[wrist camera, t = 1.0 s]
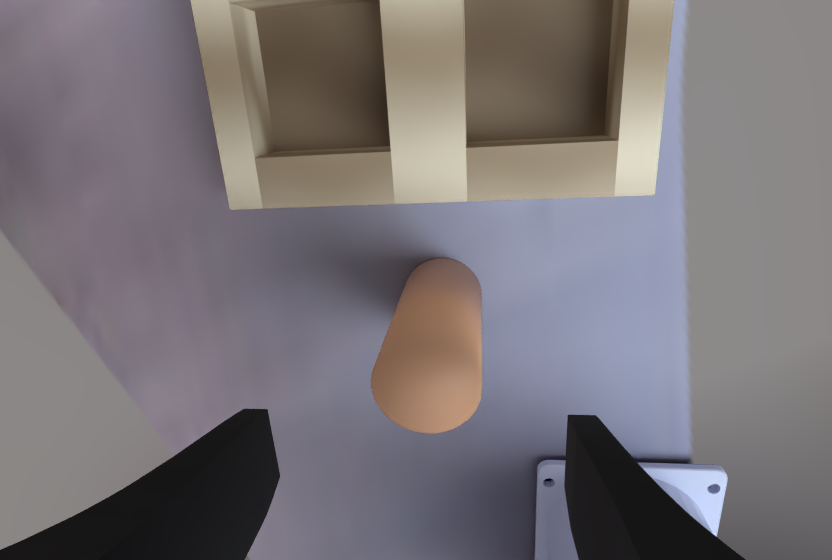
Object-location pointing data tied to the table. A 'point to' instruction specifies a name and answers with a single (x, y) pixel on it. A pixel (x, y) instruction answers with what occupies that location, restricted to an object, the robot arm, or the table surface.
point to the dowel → (432, 350)
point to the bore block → (434, 99)
